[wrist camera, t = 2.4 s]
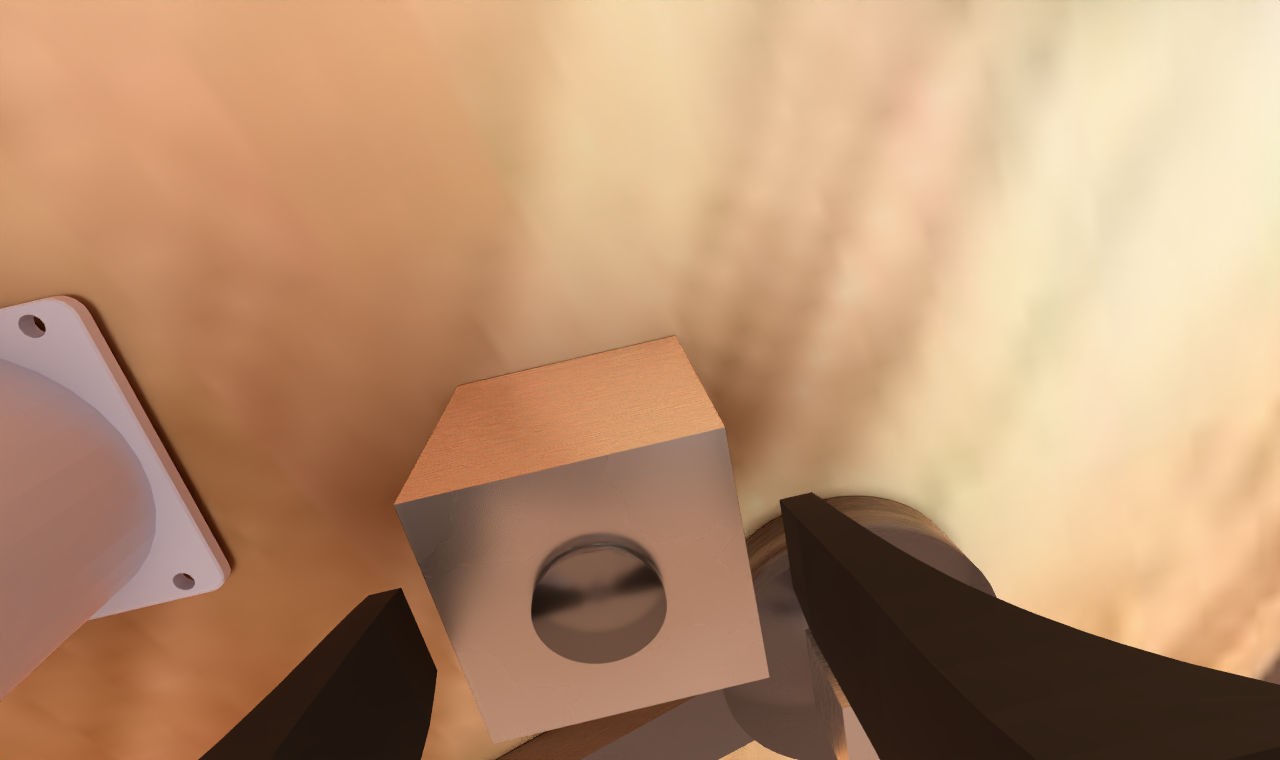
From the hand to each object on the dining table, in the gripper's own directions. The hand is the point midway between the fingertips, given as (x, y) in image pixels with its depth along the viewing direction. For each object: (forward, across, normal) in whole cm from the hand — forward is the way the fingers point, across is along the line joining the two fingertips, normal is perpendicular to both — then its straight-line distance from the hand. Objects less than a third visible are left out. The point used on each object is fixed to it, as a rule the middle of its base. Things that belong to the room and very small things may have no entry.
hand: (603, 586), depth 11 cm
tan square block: (+5, 0, 0) cm, 5 cm away
